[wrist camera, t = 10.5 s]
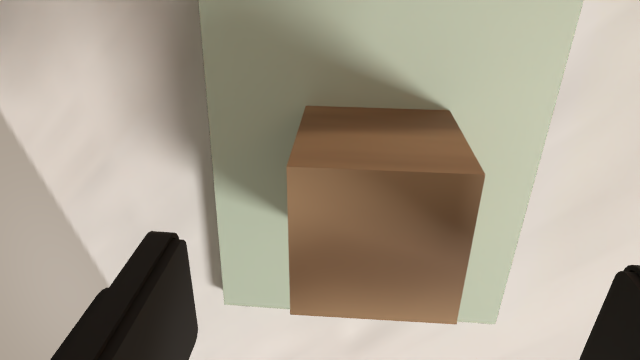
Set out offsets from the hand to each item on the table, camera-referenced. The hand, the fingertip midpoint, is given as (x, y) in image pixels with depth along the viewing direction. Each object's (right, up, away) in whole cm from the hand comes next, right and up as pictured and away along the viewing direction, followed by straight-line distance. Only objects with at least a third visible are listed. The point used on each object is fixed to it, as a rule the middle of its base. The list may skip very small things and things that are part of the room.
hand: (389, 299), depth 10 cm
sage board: (0, +3, +8) cm, 8 cm away
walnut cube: (0, +3, +7) cm, 8 cm away
